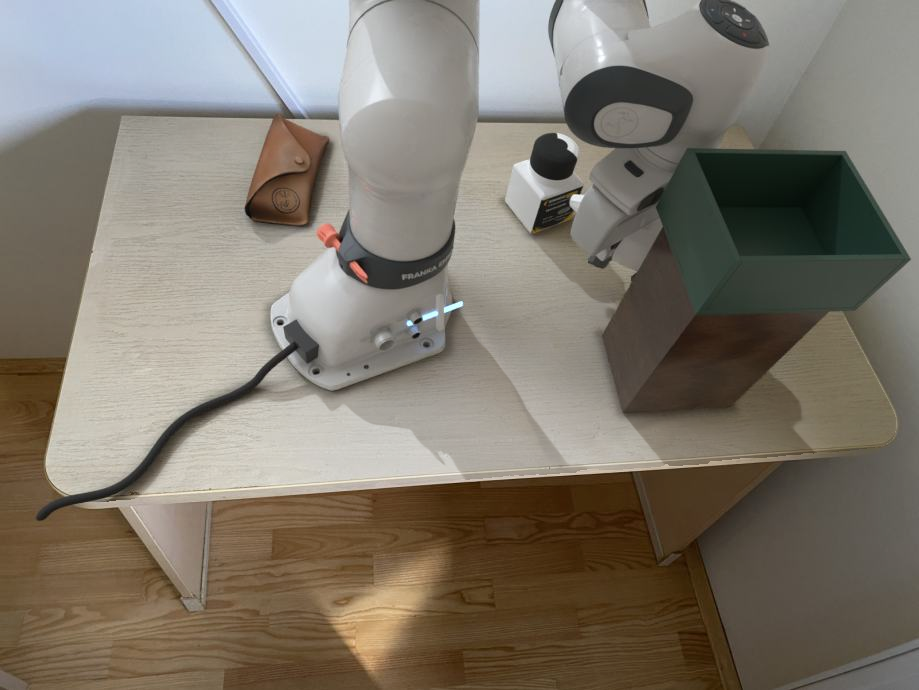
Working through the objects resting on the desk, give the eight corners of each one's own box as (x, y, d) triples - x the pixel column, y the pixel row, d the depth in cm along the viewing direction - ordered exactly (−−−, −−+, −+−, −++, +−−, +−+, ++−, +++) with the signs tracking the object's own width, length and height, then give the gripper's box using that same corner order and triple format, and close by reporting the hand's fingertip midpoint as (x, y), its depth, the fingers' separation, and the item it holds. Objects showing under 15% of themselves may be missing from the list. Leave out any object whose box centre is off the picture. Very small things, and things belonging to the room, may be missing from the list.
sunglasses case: (311, 225, 87) (280, 190, 82) (267, 238, 90) (235, 205, 85) (331, 134, 97) (305, 98, 92) (292, 148, 99) (264, 114, 94)
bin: (695, 315, 59) (735, 261, 53) (655, 207, 66) (686, 147, 60) (855, 311, 62) (911, 259, 56) (800, 207, 69) (845, 150, 62)
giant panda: (667, 266, 86) (698, 216, 78) (654, 296, 83) (685, 246, 75) (564, 220, 88) (584, 166, 80) (549, 247, 85) (568, 194, 77)
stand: (622, 413, 78) (702, 305, 60) (601, 335, 84) (668, 215, 66) (730, 407, 81) (839, 301, 62) (702, 332, 87) (795, 215, 68)
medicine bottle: (530, 235, 92) (551, 170, 82) (503, 201, 95) (520, 134, 85) (571, 220, 94) (596, 155, 84) (543, 187, 97) (564, 120, 87)
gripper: (707, 108, 76) (662, 194, 88) (580, 172, 68) (549, 258, 80) (749, 141, 74) (697, 225, 85) (622, 212, 66) (584, 294, 77)
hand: (625, 241), depth 82 cm, fingers closed on giant panda, 7 cm apart
